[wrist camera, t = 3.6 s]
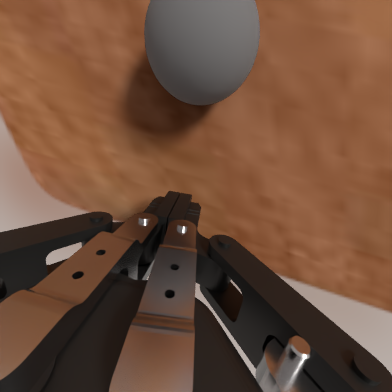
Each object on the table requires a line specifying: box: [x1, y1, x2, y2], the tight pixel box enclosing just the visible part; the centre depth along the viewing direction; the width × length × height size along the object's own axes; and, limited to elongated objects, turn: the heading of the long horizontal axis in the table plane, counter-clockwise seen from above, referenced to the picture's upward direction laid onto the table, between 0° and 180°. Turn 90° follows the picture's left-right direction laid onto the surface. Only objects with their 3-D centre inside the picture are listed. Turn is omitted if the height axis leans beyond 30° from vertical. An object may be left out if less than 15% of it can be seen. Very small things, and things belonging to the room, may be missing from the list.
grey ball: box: [144, 0, 260, 105], centre depth 10 cm, size 6×6×6 cm
